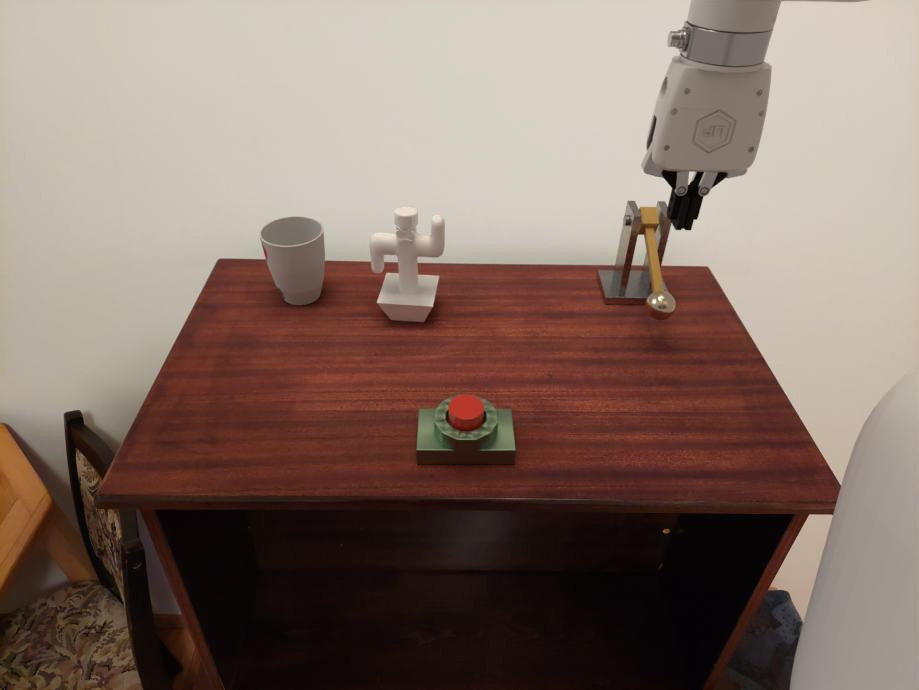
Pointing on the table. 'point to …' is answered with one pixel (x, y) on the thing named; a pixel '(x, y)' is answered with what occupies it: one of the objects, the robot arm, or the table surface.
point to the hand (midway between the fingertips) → (679, 224)
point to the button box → (465, 437)
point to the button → (466, 412)
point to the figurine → (407, 266)
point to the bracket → (622, 281)
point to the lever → (655, 268)
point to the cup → (295, 257)
